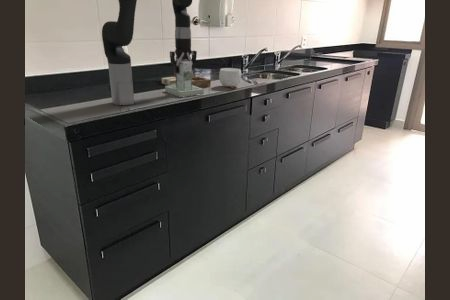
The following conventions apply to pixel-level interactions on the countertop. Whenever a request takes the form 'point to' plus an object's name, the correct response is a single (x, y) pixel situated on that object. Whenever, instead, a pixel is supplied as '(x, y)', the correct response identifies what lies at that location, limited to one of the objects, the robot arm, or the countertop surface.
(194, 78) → the socket
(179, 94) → the tray
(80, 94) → the countertop surface
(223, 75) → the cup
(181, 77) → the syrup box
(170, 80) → the beige rectangular block
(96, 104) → the countertop surface
